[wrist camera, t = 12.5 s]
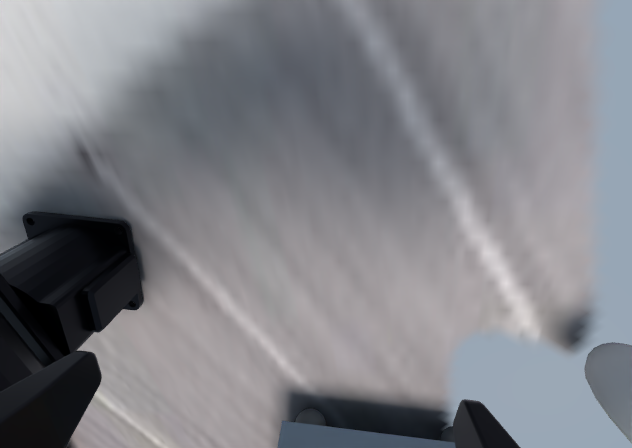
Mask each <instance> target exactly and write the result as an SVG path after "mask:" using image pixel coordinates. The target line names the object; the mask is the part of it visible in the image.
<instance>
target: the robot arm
mask: <svg viewBox="0 0 632 448" xmlns="http://www.w3.org/2000/svg"><path fill="white" fill-rule="evenodd" d="M22 219H23V223H24V226H25V229H26V233H27V236H28V240H26V241H24V242H22V243H20V244H18V245H16V246H14V247H13V248H11V249H9V250H7V251H5V252H3V253H1V254H0V448H65V447H66V445H67V443H68V441H69V440H70V438H71V436H72V434H73V433H74V431H75V429H76V427H77V425H78V423H79V422H80V420H81V418H82V416H83V414H84V412H85V411H86V409H87V407H88V405H89V403H90V402H91V400H92V398H93V396H94V394H95V392H96V391H97V389H98V387H99V385H100V382H101V378H102V375H101V371H100V368H99V365H98V362H97V358H96V356H95V354H94V353H92V352H86V351H76V350H77V349H78V348H79V347H80V346H81V345H82V344H83V343H84V342H85V341H86V340H87V339H88V338H89V337H90V336H91V335H92V334H93V333H94V332H101V331H102V330H103V329H104V328H105V327H106V326H107V325H108V324H109V323H110V322H111V321H112V320H113V319H114V317H115V316H116V315H117V314H118V313H119V312H120V311H121V310H122V309H127V310H137V309H139V308H140V306H141V305H142V304H143V300H142V294H141V283H140V277H139V272H138V266H137V260H136V257H135V254H134V248H133V242H132V236H131V231H130V227H129V225H128V224H127V223H125V222H124V221H119V220H109V219H100V218H90V217H81V216H71V215H62V214H52V213H43V212H29V213H27V214H25V215H24V216H23V218H22ZM33 220H34V221H33ZM118 227H119V228H121V229H122V231H120V230H119V228H118ZM453 434H454V441H455V447H456V448H520V447H519V446H518V444H517V443H516V442H515V441H514V440H513V439H512V437H511V436H510V435H509V434H508V433H507V431H506V430H505V429H504V428H503V427H502V426H501V424H500V423H499V422H498V421H497V420H496V419H495V417H494V416H493V415H492V414H491V413H490V412H489V410H488V409H487V408H486V407H485V406H484V405H483V404H482V403H481V402H479V401H473V400H462V401H461V402H460V405H459V407H458V410H457V413H456V416H455V419H454V422H453Z"/></svg>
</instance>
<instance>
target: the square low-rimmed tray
mask: <svg viewBox="0 0 632 448" xmlns="http://www.w3.org/2000/svg"><path fill="white" fill-rule="evenodd" d="M278 448H456V447H455V441H454V434H453V426H452V427H448V428H446V429H445V430H444V431H443V432H442V434H441V437H440V441H438V440H430V439H422V438H414V437H407V436H399V435H391V434H383V433H375V432H367V431H359V430H351V429H343V428H335V427H328V426H326V422H325V419H324V417H323V415H322V414H321V413H320V412H319V411H318V410H316V409H312V408H309V409H305V410H303V411H302V412H300V413H299V415H298V416H297V418H296V420H295V422H288V421H282V426H281V431H280V437H279V442H278Z"/></svg>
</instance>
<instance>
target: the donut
mask: <svg viewBox="0 0 632 448" xmlns="http://www.w3.org/2000/svg"><path fill="white" fill-rule="evenodd" d="M585 376H586V379H587V381H588V383H589V385H590V387H591V389H592V392H593V394H594V396H595V398H596V399H597V400H598V402H599V403H600V405H601V406H602V408H603V409H604V410H605V412H606V413H607V414H608V416H609V417H610V419H611V420H612V421H613V422H614V423H615V424H616V426H617V427H618V428H619V429H620V430H621V432H622V433H623V434H624V435H625V436H626V437H627V439H628V440H629V441H630V442H631V443H632V346H631V345H627V344H620V343H606V344H602V345H600V346H597V347H595V348H594V349H593V350H592V351H591V352H590V353H589V354H588V357H587V360H586V364H585Z"/></svg>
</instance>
